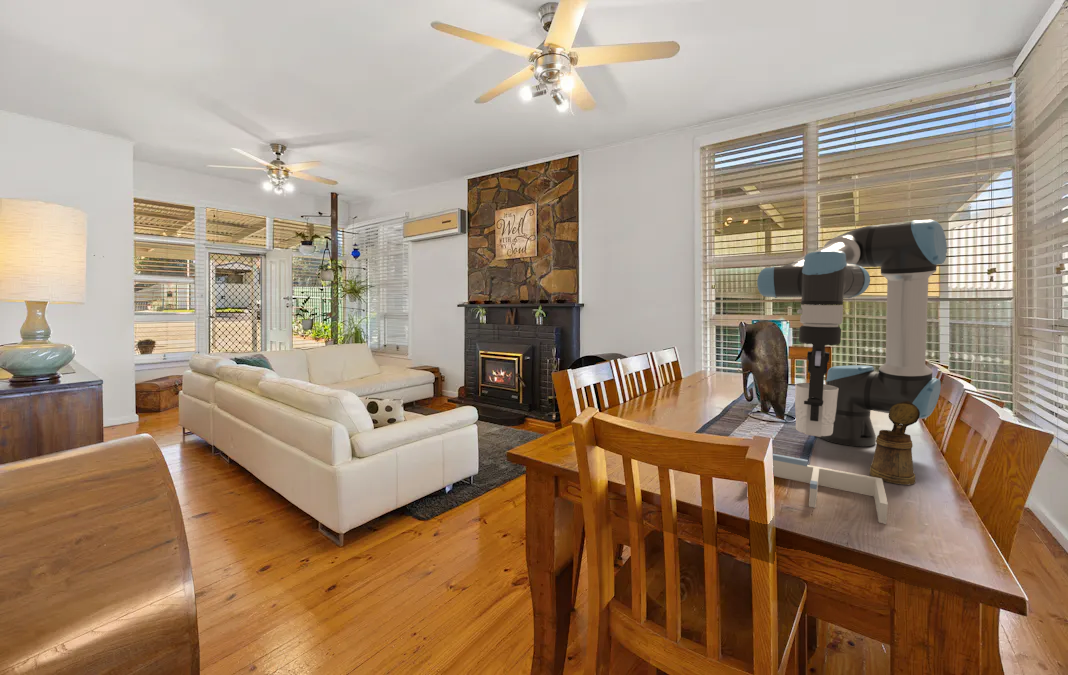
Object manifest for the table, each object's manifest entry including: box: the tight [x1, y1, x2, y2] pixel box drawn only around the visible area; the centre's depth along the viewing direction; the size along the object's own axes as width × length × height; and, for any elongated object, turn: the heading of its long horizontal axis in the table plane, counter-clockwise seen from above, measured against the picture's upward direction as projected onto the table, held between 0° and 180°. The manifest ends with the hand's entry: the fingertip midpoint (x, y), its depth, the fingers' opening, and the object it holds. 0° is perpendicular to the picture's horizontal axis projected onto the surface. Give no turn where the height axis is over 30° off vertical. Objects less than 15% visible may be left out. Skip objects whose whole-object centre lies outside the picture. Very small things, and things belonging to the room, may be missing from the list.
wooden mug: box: [869, 401, 920, 486], centre depth 110 cm, size 9×14×18 cm, turn 127°
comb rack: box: [772, 453, 889, 525], centre depth 100 cm, size 15×25×5 cm, turn 56°
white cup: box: [794, 382, 839, 436], centre depth 97 cm, size 8×8×10 cm
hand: (813, 430), depth 97 cm, fingers closed on white cup, 7 cm apart
